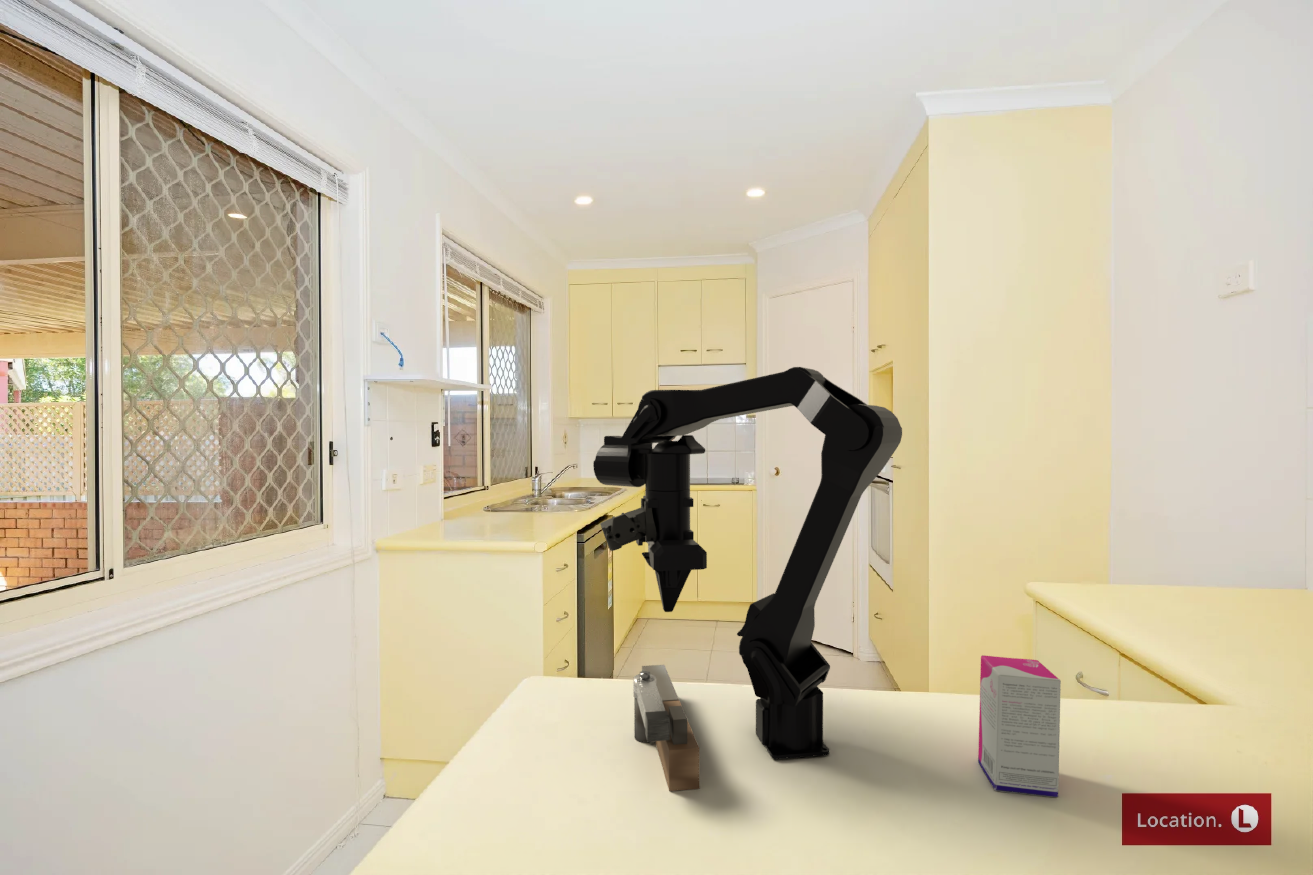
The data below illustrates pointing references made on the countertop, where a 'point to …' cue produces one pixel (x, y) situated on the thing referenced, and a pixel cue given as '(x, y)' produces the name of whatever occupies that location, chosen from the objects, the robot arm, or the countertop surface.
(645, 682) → the bar
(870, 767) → the countertop surface
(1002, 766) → the supplement box
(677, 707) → the wooden block clamp
